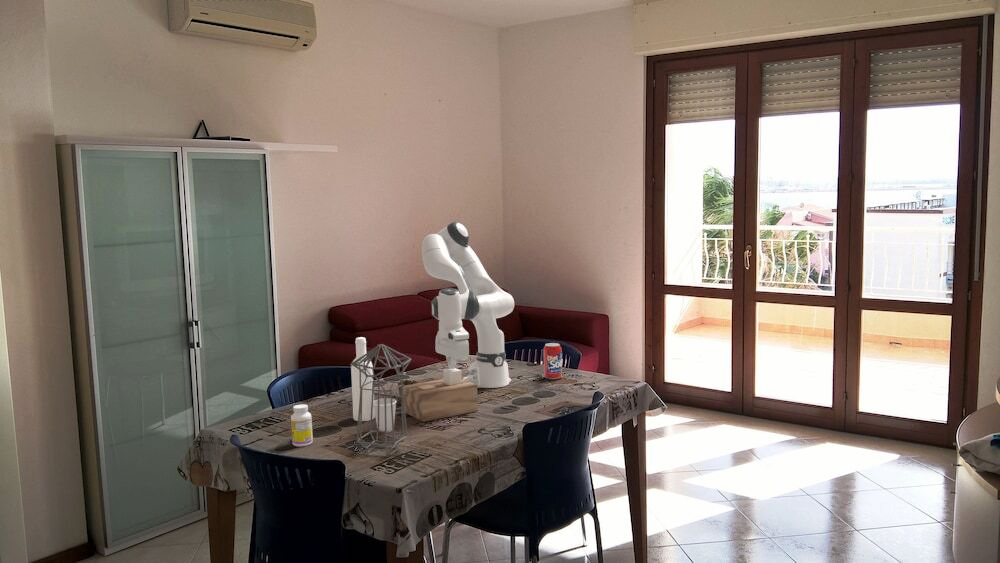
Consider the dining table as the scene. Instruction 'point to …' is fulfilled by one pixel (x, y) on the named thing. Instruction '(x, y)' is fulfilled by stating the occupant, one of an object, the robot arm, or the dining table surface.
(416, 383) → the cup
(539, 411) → the dining table surface
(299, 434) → the supplement bottle
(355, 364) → the geometric lantern
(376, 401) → the dixie cup
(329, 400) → the dining table surface
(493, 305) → the robot arm
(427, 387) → the peg terracotta
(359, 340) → the bottle
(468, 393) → the light wood block
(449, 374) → the white rectangular block
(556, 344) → the soda can
